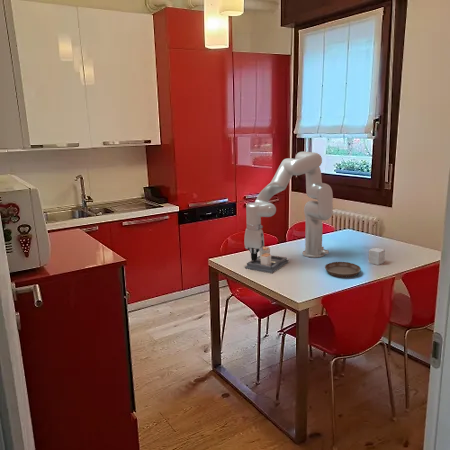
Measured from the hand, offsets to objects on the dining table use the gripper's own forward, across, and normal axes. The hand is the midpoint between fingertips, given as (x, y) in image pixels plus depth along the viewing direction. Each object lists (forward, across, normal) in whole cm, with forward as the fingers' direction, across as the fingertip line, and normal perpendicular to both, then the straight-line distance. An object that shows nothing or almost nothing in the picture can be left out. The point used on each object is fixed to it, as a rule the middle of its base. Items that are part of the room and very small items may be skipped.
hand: (254, 259), depth 232 cm
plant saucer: (+4, -44, -12) cm, 46 cm away
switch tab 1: (+2, -7, 0) cm, 7 cm away
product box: (+4, -56, -35) cm, 66 cm away
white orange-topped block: (+2, -1, -10) cm, 10 cm away
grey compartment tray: (+4, -5, -5) cm, 8 cm away
